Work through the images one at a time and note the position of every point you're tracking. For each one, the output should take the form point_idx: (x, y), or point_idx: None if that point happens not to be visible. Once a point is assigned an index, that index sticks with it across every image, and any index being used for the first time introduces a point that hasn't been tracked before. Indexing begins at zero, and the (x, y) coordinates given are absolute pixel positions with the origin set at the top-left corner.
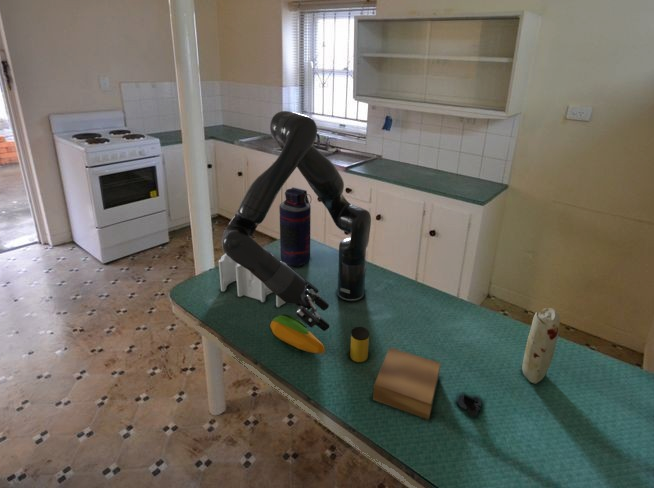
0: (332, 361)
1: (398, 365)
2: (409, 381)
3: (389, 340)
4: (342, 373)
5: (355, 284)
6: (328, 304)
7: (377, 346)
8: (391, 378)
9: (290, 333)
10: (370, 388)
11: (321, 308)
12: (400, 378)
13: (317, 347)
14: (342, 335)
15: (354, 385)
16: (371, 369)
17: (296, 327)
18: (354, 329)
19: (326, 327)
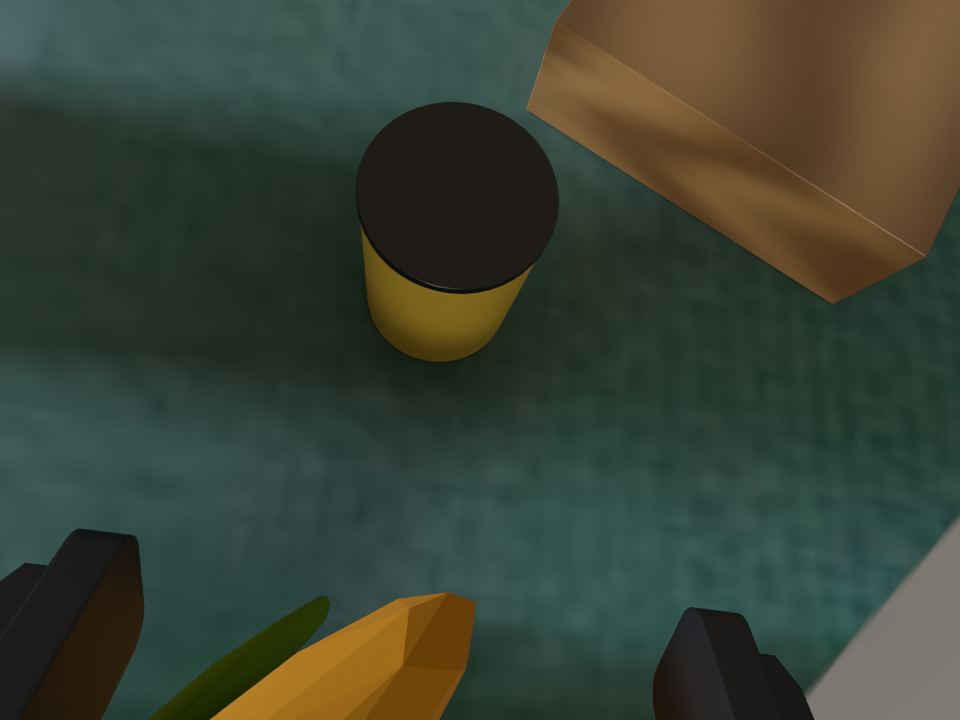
0: (467, 517)
1: (752, 27)
2: (897, 13)
3: (317, 29)
4: (599, 459)
5: None
6: (79, 534)
7: (364, 132)
8: (872, 118)
9: None
10: (744, 295)
11: (113, 686)
12: (872, 59)
13: (451, 680)
14: (172, 373)
15: (713, 395)
16: (584, 242)
17: None
18: (394, 238)
19: (792, 681)
